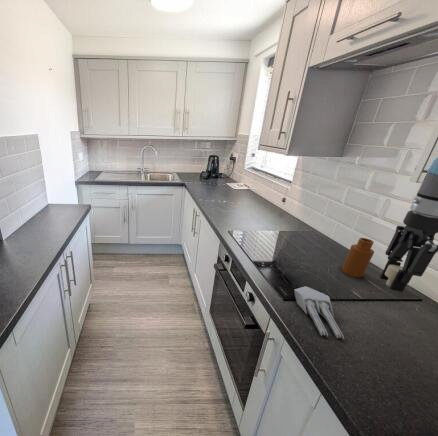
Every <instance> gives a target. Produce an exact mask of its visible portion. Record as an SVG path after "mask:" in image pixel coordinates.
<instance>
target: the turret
mask: <svg viewBox="0 0 438 436" xmlns="http://www.w3.org/2000/svg"><path fill="white" fill-rule="evenodd" d="M293 290H294V291H293V292H294V297H295V301H296V304H297V305H298V306H299V308H300V309H302V311H303V312H304V313H305V315H309V317H310V318H311V320H312V321H313V323H314V325H315V327H316V329H317V332H318V333H319V335H320V336H321V337H327V338H329V333H328V331H327V329H326V327H325V325H324V324H323V321H322V320H321V318H320V315H321V317H322V318H324V320H325V321H326V323H327V324H328V326H329V328H330V329H331V332H332V334H333V335H334V336H335V338H336V339H342V340H345V337H344V334H343V332H342V331H341V329H340V327H339V325H338V324H337V322H336V320H335V314H334V311H333V306H332V303H331V298H330V296H329V295H327V294H325V293H324V292H321V291H318V290H316V289H314V288H312V287H308V286H307V285H305V286H302V287H298V288H295V289H293ZM319 314H320V315H319Z"/></svg>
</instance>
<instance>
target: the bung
mask: <svg viewBox="0 0 438 436" xmlns="http://www.w3.org/2000/svg"><path fill="white" fill-rule="evenodd" d="M399 269H400V270H402V269H403V266H401V265H400V266H398V265H389V266H388V268H387V270H386V272H385V275H386V276H387V277H388V280H386V282H385V285H386V286H388V287H390V286H391V284H392V282H393V281H394V279H395V277H396V275H397V273H398V271H399Z"/></svg>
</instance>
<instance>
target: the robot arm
mask: <svg viewBox="0 0 438 436" xmlns="http://www.w3.org/2000/svg"><path fill="white" fill-rule="evenodd" d="M416 167H417V165H416V166H415V169H414V171H415V170H416ZM409 209H410V210H409V211H407V212H406V214H405V217H404V218H403V220H402V223H403V224H404V226H403V225H397V226H396V228H395V233H394V234H393V237H392V239H391V240H390V242H389V243H388V247H387V248H386V250H385V253H384V254H385V255H386V256H387V261H386V264H385V265H384V268H383V270H382V272H381V274H380V276H379V278H380V280H384V281H387V280H388V277H387V276H386V275H385V272H386V270H387V268H388V266H389V265H398V266H401V265H402V263H403V262H404V264H403V266H402V267H403V269H402V270H400V269H399V271H398V273H397V275H396V277H395V279H394V281H393V282H392V284H391V286H389V290H390V291H396V292H400V293H403V292H404V290H405V288H406V287H407V285H408V284H410V282H411V279H412V278H413V277H414V276H416V277H422V276H423V275H424V273H425V271H426V270H427V268H428V266H429V265H430V263H431V262H432V260H433V258H434V256H435V255H436V254H437V253H438V244H435V242H434V241H435V236H436V234H438V155H437V157H436V158H435V160H434V161H433V163H432V165H431V166H430V168H429V169H428V171H427V174H426V176H425V178H424V180H422V182H421V185H420V187H419V189H418V191H417V193H416V195H415V197H414V199H413V200H412V202H411V205H410V207H409ZM405 255H406V257H405ZM404 257H405V261H404V260H403V258H404Z"/></svg>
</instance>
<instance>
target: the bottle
mask: <svg viewBox="0 0 438 436" xmlns="http://www.w3.org/2000/svg"><path fill="white" fill-rule="evenodd" d="M374 242H375V241H374V240H372V239H371V238H370V239H369V238H367V237H359V239H358V240H357V243H356V244H355V243H354V244H351V246H350V248H349V250H348V253H347V255H346V258H345V260H344V262H343V264H342V267H341V271H342V272H343V273H344V274H346V275H349V276H351V277H354V278H362V277H363V276H364V274H365V272H366V271H367V268H368V266H369V265H370V262H371V260H372V258H373V256H374V254H375V250H373V249H372V247H373V245H374Z"/></svg>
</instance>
